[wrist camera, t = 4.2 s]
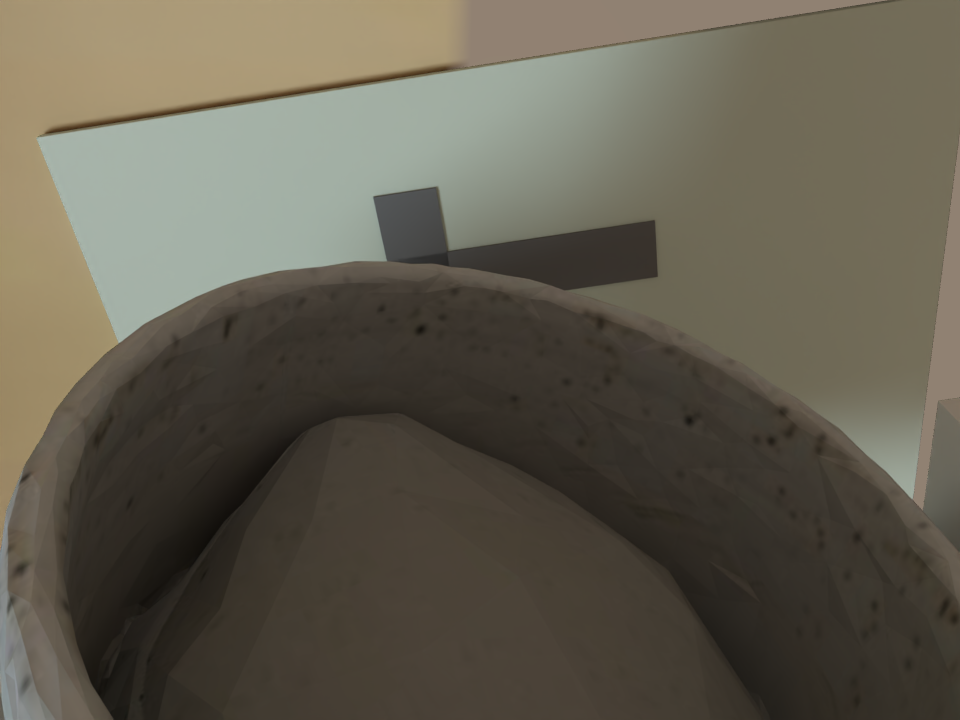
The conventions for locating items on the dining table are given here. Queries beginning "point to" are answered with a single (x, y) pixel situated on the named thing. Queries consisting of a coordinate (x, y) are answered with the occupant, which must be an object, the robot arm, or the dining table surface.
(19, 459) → the dining table surface
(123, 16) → the dining table surface
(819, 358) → the plate
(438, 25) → the dining table surface
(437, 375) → the ceramic mug
